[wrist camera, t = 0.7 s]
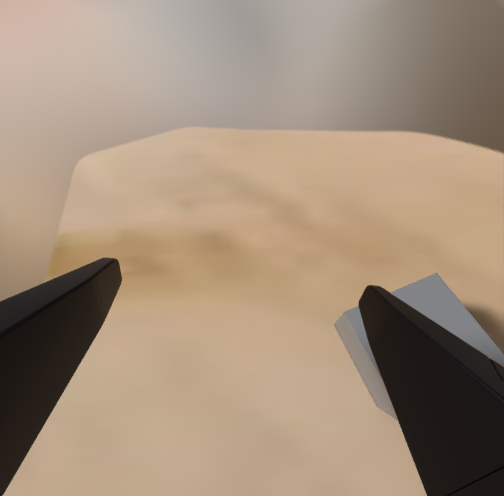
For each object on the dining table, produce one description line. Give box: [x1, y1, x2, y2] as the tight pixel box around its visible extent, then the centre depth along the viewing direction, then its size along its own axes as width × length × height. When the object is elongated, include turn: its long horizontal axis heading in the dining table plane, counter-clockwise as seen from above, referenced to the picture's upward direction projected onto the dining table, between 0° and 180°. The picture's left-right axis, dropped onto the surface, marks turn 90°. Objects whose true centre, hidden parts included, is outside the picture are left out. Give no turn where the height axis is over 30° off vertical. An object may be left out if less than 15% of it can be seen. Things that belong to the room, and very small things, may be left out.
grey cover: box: [334, 273, 504, 420], centre depth 17 cm, size 7×7×6 cm
